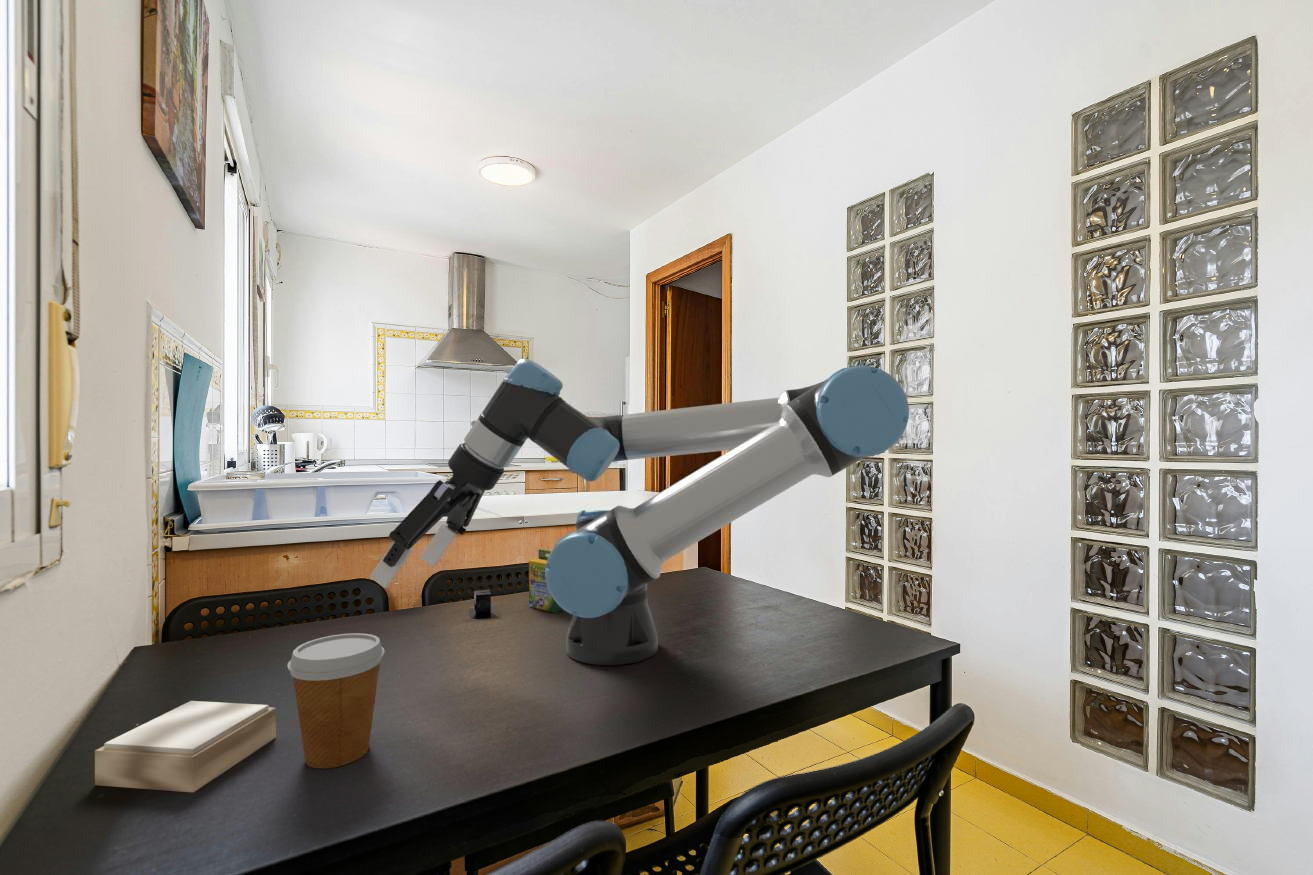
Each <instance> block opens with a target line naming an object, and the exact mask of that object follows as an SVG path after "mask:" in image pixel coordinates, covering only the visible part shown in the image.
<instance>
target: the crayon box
mask: <svg viewBox="0 0 1313 875" xmlns="http://www.w3.org/2000/svg"><path fill="white" fill-rule="evenodd" d="M551 551H552V550H547V549H546V550H545V549H541V548H540V549H538V558H534V559H533V558H532V559H529V560H528V596H529V599H528V600H529V601H528V602H529V603H528V606H529V607H530V608H534V609H538V610H543V611H547V612H551V613H557V612H560V611H564V609H563V608H561V607H560V606H559V605H558V604H557V603H556V601H555V600H554V599H553V597H552V596H551V594H550V592H549V589H548V587H547V583H546V578H545V569H546V563H547V559H548V556H547V555H549V554H550V552H551Z"/></svg>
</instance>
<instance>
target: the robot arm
mask: <svg viewBox="0 0 1313 875" xmlns="http://www.w3.org/2000/svg"><path fill="white" fill-rule="evenodd" d="M563 386H564V383H563V382H562V381H561V380H560V379H559V378H558V377H557V376H555V375H554V374H553V373H552V372H550V371H549V370H548V369H546V368H545V367H543V366H542V365H540V364H538V363H536V362H535V361H533V360H531V359H528V358H521V359H519V360H518V361H517V362H516V363H515V364H514V366H513V367H512V368H511V370H510V371H509V372H508V374H507V375H506V376H505V377H504V378H503V379H502V380H501V383H500V384H499V386H498V387H497V389H496V391H495V392H494V393H493V395H492V397H491V398H490V400H489V401H488V403H487V404H486V406H485V407H484V408H483V410H482V411H481V413H480V414H479V416H478V417H477V419H476V420H472V421H471V422H470V426H471V428H470V429H469V430H468V432H467V433H466V436H464V439H463V441H464V443H460V444H459V445H458V446H457V447H456V449H455V450H454V451H453V453H452V455H451V456H450V458H449V459H448V461H447V464H448V468H449V469H450V470H451V473H452V476H451V477H450V478H449V479H447V480H445V481H443V480H441V479H438V480H437V481H436V482H435V484H434V485H433V486H432V487H431V489H430V490H429V491H428V493H427V494H426V495H425V496H424V497H423V498H422V500H420V501H419V503H417V505H416V506H415V507H414V508H413V509H412V510H411V511H410V512H409V514H407V516H406V517H404V518H403V520H402V521H401V522H400V523H399V524H398V525H397V526H396V527H395V528H394V529H393V530H391V531H390V532H389V535H388V538H389V539H390V540H391V541H393V542H392V543H391V544H390V546H389V547H388V548H387V550H386V552H385V553H384V554H383V555H382V557H381V559H380V561H379V562H378V563H377V564H376V566H375V568H373V571H371V573H370V575H369V577H370V579H372V580H373V581H375V582H376V583H377V584H378V585H380V586H381V587H382V588H383V589H385V588H388V587H389V586H390V584H391V583H392V581H393V580H394V578H395V576H396V575H397V574H398V572H399V571H400V570H401V568H402V566H404V564H405V563H406V561H407V559H408V558H409V556H411V554H412V552H413V551H414V548H413V546H414V545H415V544H417V542H419V540H421V539H422V538H423V537H424V536H425V535H426V534H427V533H428V532H429V531H430V530H431V529H432V528H433V527H434V526H435V525H436V524H437V523H438V522H439V521H440V520H441V519H443V518H444V517H445V518H446V521H445V523H443V524H441V525H440V526H439V528H438V530H437V531H436V532H435V534H434V535H433V537H432V538H431V539H430V541H429V542H428V544H427V546H426V547H425V549H423V551H422V553H421V555H420V556H419V558H420V559H421V560H423V561H424V562H425V563H426V564H428V565H429V566H430V567H431V568H435V567H436V565H438V562H439V561H440V560H441V558H442V556H443V555H444V554H445V552H446V551H447V549H448V548H449V547H450V545H451V544H452V542H453V541H454V540H455V538H456V536H457V535H458V534H459V535H461V536H463V535H464V534H465V533H466V532H467V529H466V528H467V527H468V526H469V525H470V523H471V520H472V518H473V517H474V515H475V512H476V510H477V508H478V505H479V504H480V501H481V499H482V498H483V496H484V494H485V491H490V490H493V489H494V488H495V486H496V485H497V484H498V482H499V481H500V479H501V477H503V474H504V473H505V468H509V466H510V465H511V464H512V462H513V461H514V459H515V458H516V456H517V455H518V453H519V452H520V450H521V448H522V447H523V446H524V445H525V443H526V441H527V439H528V440H530V441H531V442H533V443H534V444H535V445H537V446H538V447H540V448H541V449H542V450H544V452H546V453H547V454H549V455H550V456H552V457H553V459H556V460H557V461H558V462H559V463H561V465H563V466H565V467H566V468H568V470H569V472H571V473H572V474H576V475H578V476H579V477H580V478H582V479H584V480H585V481H587V482H595V481H597V480H598V479H599V478H600V477H601V476H602V475H603V474H604V473H605V472H606V470H607V469H608V468H609V467H610V465H611V464H612V463H614V462H623V461H629V460H640V459H641V460H642V459H650V458H660V457H661V458H663V457H670V456H681V455H693V454H700V453H702V454H704V453H711V452H712V453H713V452H722V451H723V452H724V451H727V452H725V453H724V454H721V455H720V456H719V457H717V458H715V459H713V460H712V461H710V462H708V463H707V464H705V465H703V466H701V467H700V468H698V469H697V470H696V471H693V472H692V473H690V474H689V475H687V476H685V477H684V478H682V479H680V480H679V481H677V482H675V483H673V484H672V485H670V486H669V487H667V488H665V489H664V490H662V491H660V492H659V493H657V494H655V495H653V496H652V497H651V498H649V499H647V500H645V501H644V502H642V503H640V504H638V505H637V506H635V507H632V508H630V507H626V506H623V505H617V506H614V507H613V508H612V509H609V510H608V509H607V510H603V509H602V510H598V509H589V510H587V509H586V510H585V509H584V510H583V509H582V510H579V511H578V513H577V515H576V521H575V529H576V530H575V531H574V532H570V533H568V534H566V535H564V536H563V537H561V538H560V539H559V540H558V541H557V543H556V544H554V546H553V548H552V549H551V550H550V551H551V552H550V554H548V556H547V557H548V559H547V563H546V569H545V578H546V583H547V587H548V589H549V592H550V594H551V596H552V597H553V599H554V600H555V601H556V603H557V604H558V605H559V606H560V607H561V608H563V611H565V612H567V613H568V614H570V615H572V618H571V620H570V623H569V627H568V630H567V634H566V638H565V652H566V655H568V657H570V658H571V659H573V660H575V661H577V662H581V663H584V664H590V665H596V666H597V665H598V666H619V665H627V664H632V663H633V664H634V663H638V662H641V661H644V660H646V659H649V658H651V657H652V656H654V655H655V654H656V653H657V652H658V650H659V645H658V644H659V643H658V642H659V639H658V637H659V636H658V631H657V629H656V625H655V623H654V620H653V619H654V618H653V616H652V612H651V609H650V607H649V604H648V584H650V583H653V581H655V580H657V579H659V578H660V577H661V572H662V568H663V565H664V563H665V562H666V561H667V560H669V559H671V558H672V557H674V556H676V555H678V554H680V553H681V552H683V551H684V550H687V549H688V548H690V547H691V546H693V545H695V544H696V543H698V542H700V541H701V540H703V539H705V538H706V537H708V536H711V535H712V534H714V533H715V532H718V530H721V529H722V528H724V527H726V526H728V525H729V524H731V523H732V522H734V521H735V520H737V519H739V518H741V517H742V516H744V515H746V514H748V513H749V512H751V511H752V510H754V509H755V508H758V507H759V506H761V505H763V504H764V503H767V501H770V500H771V499H773V498H775V497H777V496H778V495H780V494H782V493H783V492H785V491H786V490H787V491H788V489H790V488H792V487H794V486H795V485H797V484H799V483H801V482H802V481H804V480H806V479H807V478H809V477H811V476H812V475H817V476H822V477H825V478H831V477H833V476H835V475H836V474H838V473H840V472H841V471H843V470H845V469H847V468H848V467H851V466H852V465H854V464H855V463H857V462H859V461H860V460H862V459H864V458H870V457H875V456H879V455H881V454H883V453H885V452H886V451H888V450H889V449H890V448H891V449H892V447H894V445H895V444H897V443H898V442H899V440H900V439H901V438H902V436H903V435H904V433H905V431H906V428H907V427H908V426H907V425H908V422H909V418H910V417H909V415H910V408H909V407H910V406H909V402H908V398H907V395H906V392H905V390H904V388H903V387H902V385H901V384H900V383H899V382H898V380H897V379H896V378H895V377H893V376H892V375H891V374H890V373H888V372H887V371H885V370H883V369H881V368H878V367H874V366H869V365H851V366H848V367H843V368H840V369H839V370H837V371H836V372H834V373H833V374H831V375H830V376H829V377H828V378H826V379H824V380H823V381H819V382H818V383H816V384H811V385H809V386H805V387H801V388H796V389H787V390H786V389H785V390H783V391H782V392H781V394H780V395H779V396H777V397H772V398H771V397H770V398H763V399H762V398H761V399H753V400H744V401H736V402H727V403H717V404H716V403H715V404H710V405H707V404H706V405H700V406H698V405H697V406H690V407H680V408H672V409H663V410H656V411H645V412H637V413H628V414H617V415H607V416H599V417H594V416H593V417H592V416H586V415H585V414H583V413H582V412H581V411H579V410H578V409H576V408H575V407H574V406H572V405H571V404H569V403H568V402H567V401H565V400H564V399H563V398H562V397H561V396H560V394H561V391H562V389H563Z"/></svg>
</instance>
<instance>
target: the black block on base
mask: <svg viewBox="0 0 1313 875" xmlns="http://www.w3.org/2000/svg"><path fill="white" fill-rule="evenodd" d="M473 599H474V600H473V601H474V602H473V603H474V604H473V605H474V606H472V607H468V608H469V613H468V617H469V616H470V618H469V620H470V619H477V620H484V619H495V618H499V617H498V616H499V613H498V612H497V610H495V609H496V607H495V605H494V604H493V605H492V594H491V591H490V589H481V590H474V597H473ZM496 612H497V613H496Z"/></svg>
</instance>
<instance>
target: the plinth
mask: <svg viewBox="0 0 1313 875" xmlns="http://www.w3.org/2000/svg"><path fill="white" fill-rule="evenodd" d="M276 716H277V707H271V706H269V704H259V703H258V704H254V703H252V704H251V703H236V702H235V703H234V702H218V701H204V700H203V701H198V700H189V701H188V702H186V703H184V704H181V705H179V706H178V707H175V708H174V709H171V710H170V711H168V712H165V713H163V714H162V715H160V716H157V717H155V718H153V719H151V720H149V721H148V722H145V723H143V724H141V725H139V726H137V727H134V728H132V729H131V730H129V731H127V732H124V733H123V734H121V735H119V736H116V737H114V738H112V739H110V740H108V741H106V742H105V743H103V746H101V747H99V748H97V749H95V750H94V786H101V787H116V788H127V789H128V788H130V789H142V790H143V789H144V790H157V791H166V792H167V791H168V792H169V791H171V792H182V793H183V792H184V793H195V792H196V791H198V790H200V789H201V788H203V786H205V785H206V784H209V783H210V782H211V781H213V780H214V779H216V778H218V777H219V776H220V775H222V774H223V773H225V772H226V771H229V769H231V768H232V767H234V766H235V765H237V764H239V763H241V761H243V760H244V759H246V758H247V757H249V756H251V755H252V754H254V753H255V752H256V751H258V750H260V749H261V748H263V747H264V746H265V745H268V744H269V743H270V742H272V741H273V740H274V739H277V731H276V730H277V729H276V728H277V726H276V724H277V723H276V722H277V717H276Z"/></svg>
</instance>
